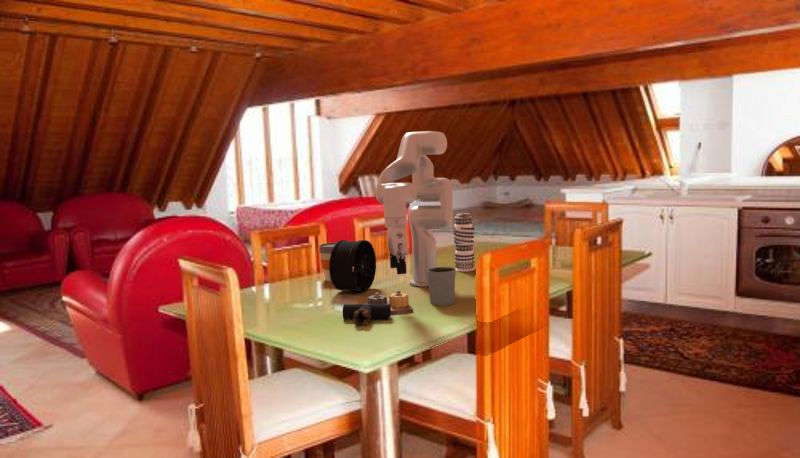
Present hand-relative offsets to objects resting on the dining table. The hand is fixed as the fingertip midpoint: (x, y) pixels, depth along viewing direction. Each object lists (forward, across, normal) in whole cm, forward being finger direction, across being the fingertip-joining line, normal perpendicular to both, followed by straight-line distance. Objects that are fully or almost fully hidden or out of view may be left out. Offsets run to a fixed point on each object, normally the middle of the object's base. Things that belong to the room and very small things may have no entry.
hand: (398, 270), depth 220 cm
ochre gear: (+12, -1, +1) cm, 12 cm away
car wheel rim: (+14, +33, +10) cm, 37 cm away
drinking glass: (+14, +1, -16) cm, 21 cm away
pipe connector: (+13, -12, +15) cm, 23 cm away
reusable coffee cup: (+15, +58, +14) cm, 61 cm away
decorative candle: (+16, +53, -42) cm, 70 cm away
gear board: (+13, -1, +4) cm, 14 cm away
